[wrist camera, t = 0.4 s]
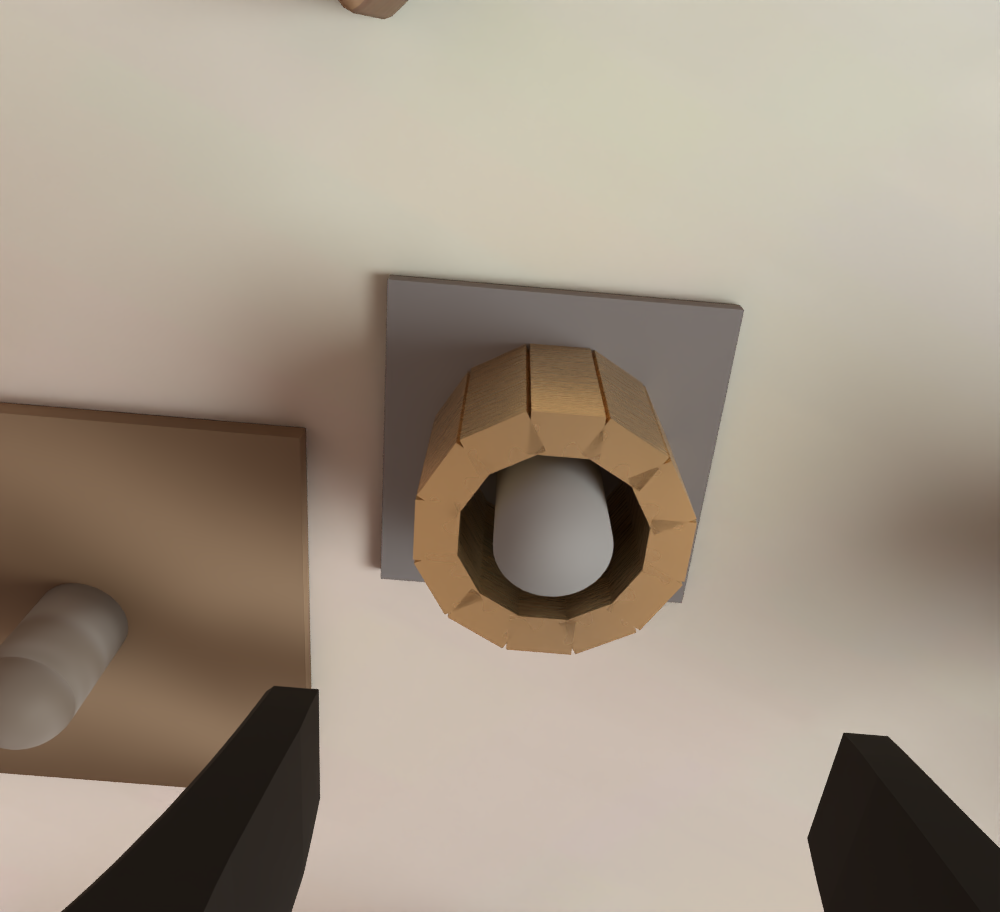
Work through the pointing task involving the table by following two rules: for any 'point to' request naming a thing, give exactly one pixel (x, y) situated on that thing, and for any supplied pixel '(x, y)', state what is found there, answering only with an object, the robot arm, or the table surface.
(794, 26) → the table surface
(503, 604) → the wooden ring
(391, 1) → the wooden block
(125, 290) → the table surface
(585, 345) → the stand rod
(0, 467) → the hub plate
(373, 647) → the table surface
